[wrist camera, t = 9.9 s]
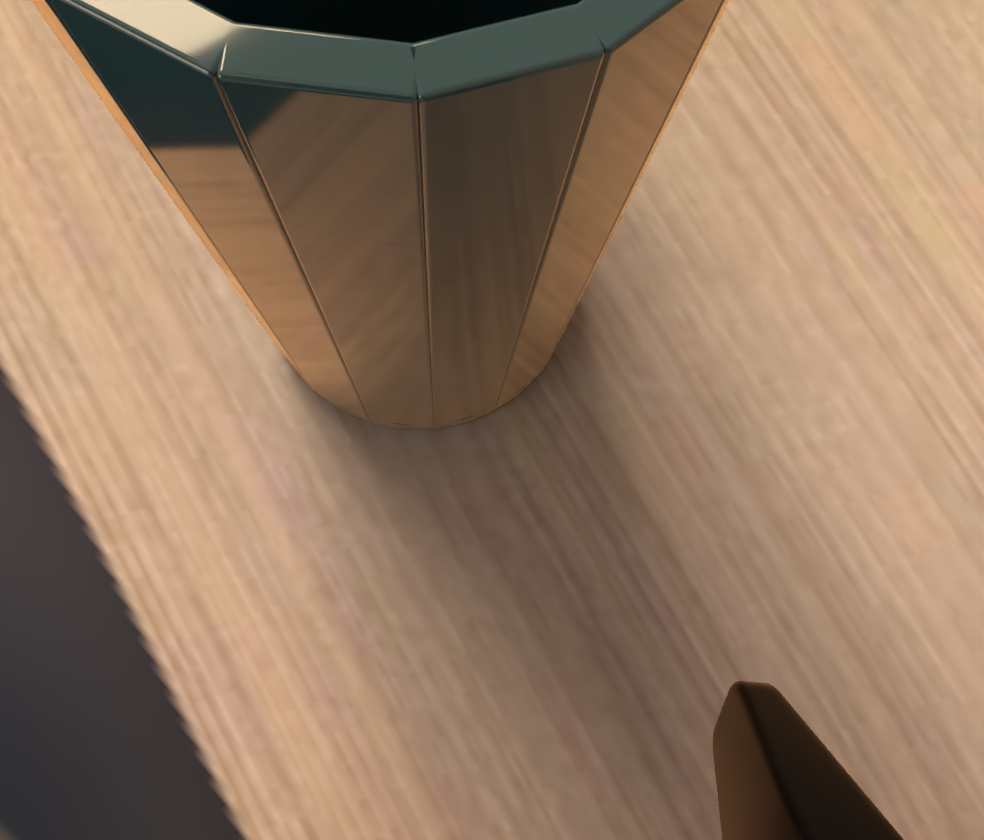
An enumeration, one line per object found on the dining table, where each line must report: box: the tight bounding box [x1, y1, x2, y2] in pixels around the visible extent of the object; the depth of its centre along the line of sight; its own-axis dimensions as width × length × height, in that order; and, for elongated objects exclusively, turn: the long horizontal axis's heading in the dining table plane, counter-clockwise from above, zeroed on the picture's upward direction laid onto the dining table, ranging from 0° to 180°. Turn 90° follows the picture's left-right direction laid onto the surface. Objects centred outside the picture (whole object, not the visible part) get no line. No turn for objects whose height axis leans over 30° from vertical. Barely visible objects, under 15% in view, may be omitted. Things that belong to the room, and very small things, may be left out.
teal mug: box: [31, 0, 730, 429], centre depth 13 cm, size 10×7×13 cm, turn 175°
